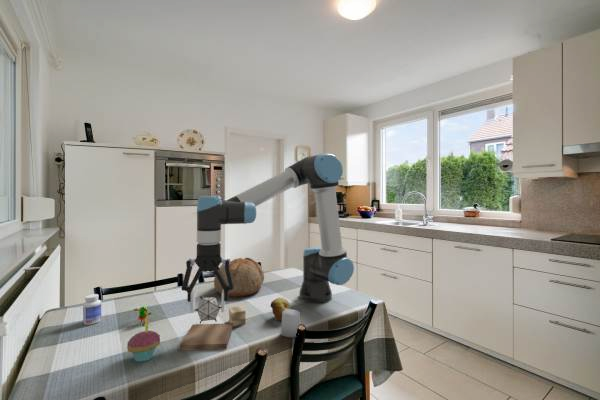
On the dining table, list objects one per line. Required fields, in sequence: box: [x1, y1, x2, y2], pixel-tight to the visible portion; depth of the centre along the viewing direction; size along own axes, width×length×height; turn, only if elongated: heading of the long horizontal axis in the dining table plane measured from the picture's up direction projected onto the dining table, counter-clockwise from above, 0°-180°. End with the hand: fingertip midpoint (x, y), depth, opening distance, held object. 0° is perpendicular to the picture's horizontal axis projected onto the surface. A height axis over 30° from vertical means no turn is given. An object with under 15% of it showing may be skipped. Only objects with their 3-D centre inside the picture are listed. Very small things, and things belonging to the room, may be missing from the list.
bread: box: [213, 257, 265, 298], centre depth 144 cm, size 26×23×15 cm
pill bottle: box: [82, 293, 102, 326], centre depth 105 cm, size 5×5×10 cm
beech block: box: [228, 305, 246, 327], centre depth 107 cm, size 5×5×5 cm
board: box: [179, 322, 234, 351], centre depth 95 cm, size 14×14×2 cm
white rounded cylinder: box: [280, 309, 301, 338], centre depth 98 cm, size 6×6×7 cm
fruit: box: [270, 297, 291, 321], centre depth 110 cm, size 8×8×8 cm
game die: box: [194, 294, 222, 324], centre depth 95 cm, size 9×8×10 cm
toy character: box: [133, 306, 153, 327], centre depth 105 cm, size 11×12×7 cm
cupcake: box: [127, 312, 161, 363], centre depth 83 cm, size 9×8×12 cm
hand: (208, 310), depth 95 cm, fingers closed on game die, 9 cm apart
